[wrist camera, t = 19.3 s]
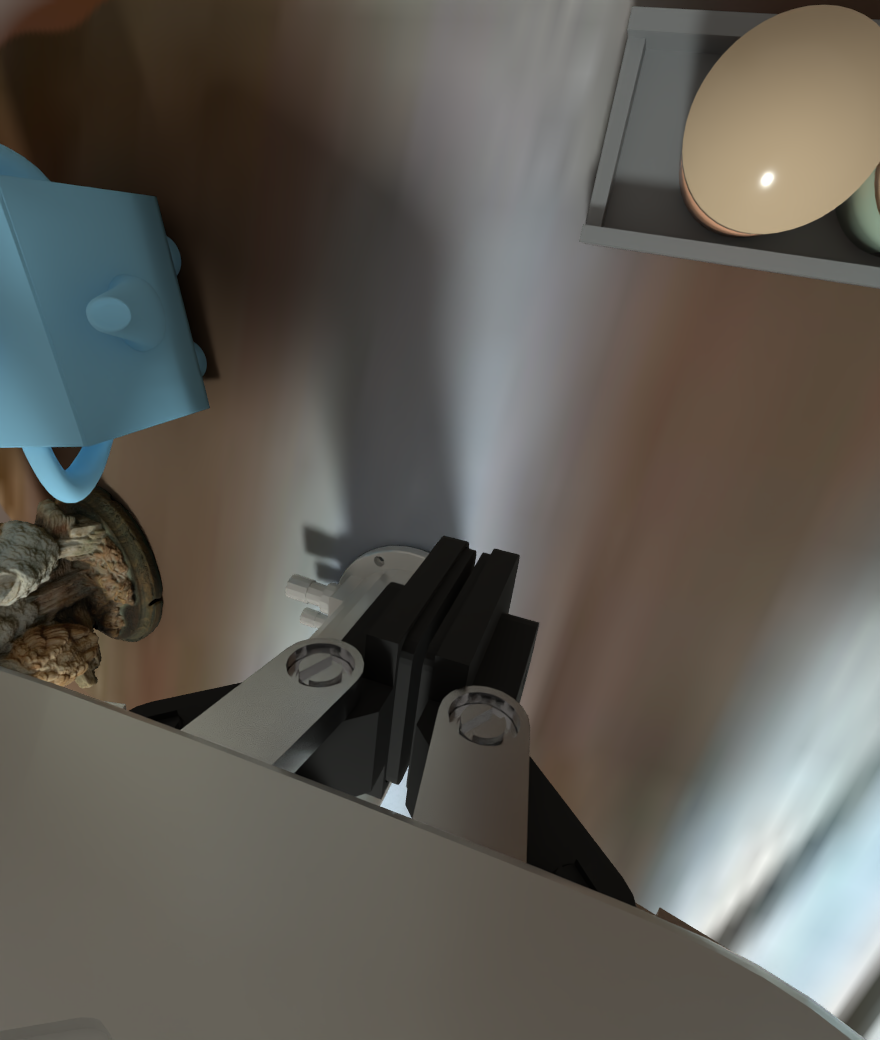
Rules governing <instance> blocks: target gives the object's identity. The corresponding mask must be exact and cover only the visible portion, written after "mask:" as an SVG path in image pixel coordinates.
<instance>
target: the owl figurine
mask: <svg viewBox="0 0 880 1040" xmlns="http://www.w3.org/2000/svg"><path fill="white" fill-rule="evenodd" d="M110 497H112V496H111V495H110V494H109V493H108V492H106V491H105V490H103V489H102V488H99V487H97V486H95V487H94V489H93V490H92V491H91V493H90V494H89V495H88V496H87V497H85V498H84V499H83V500H81V501H79V502H76V503H65V502H62V501H60V500H58V499H56V498H55V500H54V501H52V500H50V499H47V500H44V501H42V502H40V503H39V505H38V508H37V515H36V520H35V524H31V523H28V522H22V521H18V520H14V521H8V522H6V523H0V666H1V667H4V668H7V669H11V670H14V671H17V672H20V673H23V674H26V675H29V676H32V677H35V678H38V679H41V680H44V681H47V682H50V683H54V684H56V685H59V686H62V687H63V686H66V685H68V684H70V683H71V682H73V681H74V680H75V681H76V682H77V684H78V685H79V687H81V688H85V687H87V688H88V687H92V686H93V685H95V684H96V683H97V677H95V674H94V673H95V672H94V670H95V669H96V668H98V666H99V665H100V661H101V658H102V657H101V653H100V650H99V648H100V647H99V644H98V639H99V637H98V636H97V635H96V633H93V631H94V630H93V628H95V629H96V630H99V631H101V632H102V633H104V634H105V635H107V636H109V637H111V638H114V639H118V640H119V639H120V640H123V641H128V642H135V641H136V642H137V641H139V640H141V639H143V638H145V637H146V636H148V635H149V634H150V633H151V632H153V631H154V629H155V628H156V627H157V626H158V624H159V622H160V619H161V615H162V610H161V609H162V606H163V602H162V601H158V602H156V603H155V604H153V605H152V606H148V605H149V603H150V602H151V601H152V600H154V599H158V598H160V597H161V596H162V583H161V579H160V576H159V572H158V568H157V565H156V562H155V559H154V556H153V553H152V551H151V549H150V547H149V545H148V543H147V541H146V539H145V537H144V535H143V533H142V531H141V530H140V528H139V526H138V525H137V523H136V522H135V520H134V519H133V517H132V516H131V515H130V514H129V513H128V511H127V510H126V509H125V508H124V507H123V506H122V505H121V504H119V503H118V502H117V501H112V500H111V499H110Z"/></svg>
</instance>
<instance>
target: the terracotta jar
mask: <svg viewBox="0 0 880 1040" xmlns="http://www.w3.org/2000/svg"><path fill="white" fill-rule="evenodd" d="M879 162H880V27H879V26H878V24H877V23H875V22H874V21H873V20H871V19H870V18H868V17H867V16H865V15H864V14H861V13H859V12H857V11H855V10H853V9H849V8H845V7H841V6H835V5H811V6H805V7H800V8H796V9H792V10H789V11H786V12H783V13H781V14H778V15H776V16H774V17H772V18H770V19H768V20H766V21H764V22H762V23H761V24H759V25H757V26H756V27H754V28H753V29H751V30H750V31H748V32H747V33H746V34H745V35H743V36H742V37H741V38H740V39H738V40H737V41H736V42H735V43H734V44H733V45H732V46H731V47H730V48H729V49H728V50H727V51H726V52H725V53H724V54H723V55H722V56H721V57H720V59H719V60H718V61H717V62H716V63H715V65H714V66H713V67H712V69H711V70H710V72H709V73H708V75H707V76H706V78H705V79H704V81H703V83H702V84H701V86H700V88H699V90H698V92H697V94H696V96H695V99H694V101H693V103H692V106H691V108H690V112H689V115H688V118H687V121H686V126H685V130H684V136H683V142H682V152H681V157H680V162H679V186H680V191H681V195H682V198H683V201H684V203H685V205H686V207H687V209H688V211H689V212H690V214H691V215H692V216H693V218H694V219H695V220H696V221H697V222H698V223H699V224H700V225H702V226H703V227H705V228H706V229H707V230H709V231H711V232H713V233H716V234H719V235H722V236H726V237H732V238H748V237H755V236H759V235H764V234H773V233H778V232H783V231H787V230H791V229H794V228H797V227H800V226H803V225H806V224H808V223H810V222H812V221H814V220H817V219H819V218H821V217H822V216H824V215H825V214H827V213H829V212H830V211H832V210H834V209H835V208H836V207H838V206H839V205H840V204H842V203H843V202H844V201H845V200H847V199H848V198H849V197H850V196H851V195H852V194H853V193H854V192H855V191H856V190H857V189H858V188H859V187H860V186H861V185H862V184H863V183H864V182H865V181H866V179H867V178H868V177H869V176H870V175H871V173H872V172H873V170H874V169H875V168H876V166H877V165H878V164H879Z"/></svg>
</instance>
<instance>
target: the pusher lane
mask: <svg viewBox="0 0 880 1040" xmlns="http://www.w3.org/2000/svg"><path fill="white" fill-rule="evenodd" d="M776 15H778V14H764V13H746V12H728V11H710V10H691V9H673V8H655V7H636V6H632V10H631V14H630V19H629V23H628V28H627V33H628V39H627V43H626V48H625V52H624V57H623V61H622V65H621V70H620V74H619V79H618V83H617V87H616V92H615V96H614V101H613V105H612V109H611V114H610V118H609V123H608V127H607V131H606V136H605V140H604V145H603V149H602V153H601V158H600V162H599V166H598V171H597V175H596V180H595V184H594V188H593V193H592V197H591V202H590V206H589V210H588V215H587V219H586V224H585V225H584V224H583V227H582V231H581V236H580V240H579V242H582V243H585V244H591V245H597V246H604V247H610V248H617V249H623V250H630V251H636V252H643V253H649V254H656V255H662V256H669V257H676V258H682V259H689V260H695V261H702V262H708V263H715V264H721V265H728V266H734V267H741V268H747V269H754V270H760V271H767V272H773V273H780V274H787V275H793V276H800V277H806V278H813V279H819V280H826V281H832V282H839V283H845V284H852V285H858V286H865V287H871V288H878V289H880V257H876V256H874V255H871V254H868V253H866V252H865V251H863V250H861V249H859V248H858V247H857V246H856V245H854V244H853V243H852V242H851V241H850V240H849V239H848V237H847V236H846V235H845V233H844V232H843V230H842V228H841V226H840V224H839V221H838V219H837V214H836V210H835V209H834V210H832V211H830V212H829V213H827V214H825V215H824V216H822V217H821V218H819V219H817V220H814V221H812V222H810V223H808V224H806V225H803V226H800V227H797V228H794V229H791V230H787V231H783V232H778V233H773V234H764V235H759V236H755V237H748V238H732V237H726V236H722V235H719V234H716V233H713V232H711V231H709V230H707V229H706V228H705V227H703V226H702V225H700V224H699V223H698V222H697V221H696V220H695V219H694V218H693V216H692V215H691V214H690V212H689V211H688V209H687V207H686V205H685V203H684V201H683V198H682V195H681V191H680V186H679V162H680V157H681V152H682V142H683V136H684V130H685V126H686V121H687V118H688V115H689V112H690V108H691V106H692V103H693V101H694V99H695V96H696V94H697V92H698V90H699V88H700V86H701V84H702V83H703V81H704V79H705V78H706V76H707V75H708V73H709V72H710V70H711V69H712V67H713V66H714V65H715V63H716V62H717V61H718V60H719V59H720V57H721V56H722V55H723V54H724V53H725V52H726V51H727V50H728V49H729V48H730V47H731V46H732V45H733V44H734V43H735V42H736V41H737V40H738V39H740V38H741V37H742V36H743V35H745V34H746V33H747V32H748V31H750V30H751V29H753V28H754V27H756V26H757V25H759V24H761V23H762V22H764V21H766V20H768V19H770V18H772V17H774V16H776ZM871 20H873V21H874V22H875V23H877V24H878V26H879V27H880V20H874V19H871Z"/></svg>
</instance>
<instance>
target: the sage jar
mask: <svg viewBox="0 0 880 1040" xmlns="http://www.w3.org/2000/svg"><path fill="white" fill-rule="evenodd" d="M835 210H836V214H837V219H838V221H839V224H840V226H841V228H842V230H843V232H844V233H845V235H846V236H847V237H848V239H849V240H850V241H851V242H852V243H853V244H854V245H856V246H857V247H858V248H859V249H861V250H863V251H865V252H866V253H868V254H871V255H874V256H876V257H880V162H879V164H878V165H877V166H876V168H875V169H874V170H873V172H872V173H871V175H870V176H869V177H868V178H867V179H866V181H865V182H864V183H863V184H862V185H861V186H860V187H859V188H858V189H857V190H856V191H855V192H854V193H853V194H852V195H851V196H850V197H849V198H848V199H847V200H845V201H844V202H843V203H842V204H840V205H839V206H838V207H836V208H835Z"/></svg>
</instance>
